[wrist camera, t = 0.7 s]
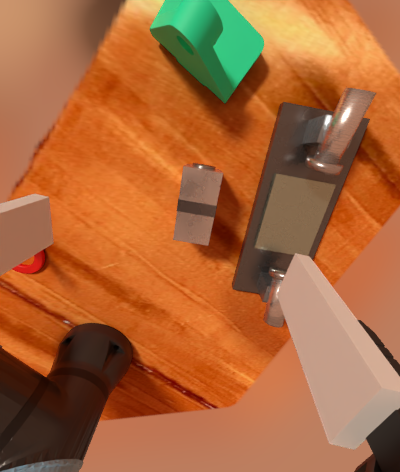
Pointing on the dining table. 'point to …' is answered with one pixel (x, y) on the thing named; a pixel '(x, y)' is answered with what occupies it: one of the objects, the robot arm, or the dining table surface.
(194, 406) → the dining table surface
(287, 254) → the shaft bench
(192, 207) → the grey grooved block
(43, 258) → the tow hook
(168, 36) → the camera mount
